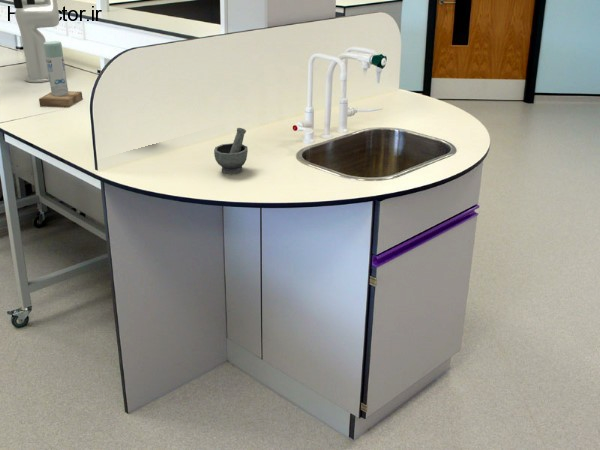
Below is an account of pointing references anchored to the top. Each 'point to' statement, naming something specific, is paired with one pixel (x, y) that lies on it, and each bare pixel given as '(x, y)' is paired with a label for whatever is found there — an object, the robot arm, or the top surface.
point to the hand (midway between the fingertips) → (25, 6)
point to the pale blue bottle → (56, 68)
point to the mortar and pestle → (232, 154)
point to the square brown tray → (60, 100)
